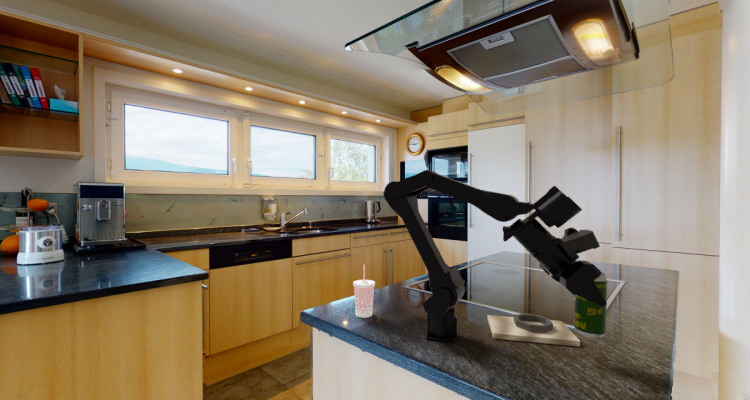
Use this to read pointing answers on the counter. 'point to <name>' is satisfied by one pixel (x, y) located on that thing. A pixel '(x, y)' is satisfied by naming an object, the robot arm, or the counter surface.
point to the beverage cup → (364, 296)
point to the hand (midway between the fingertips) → (598, 300)
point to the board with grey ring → (531, 329)
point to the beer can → (591, 312)
